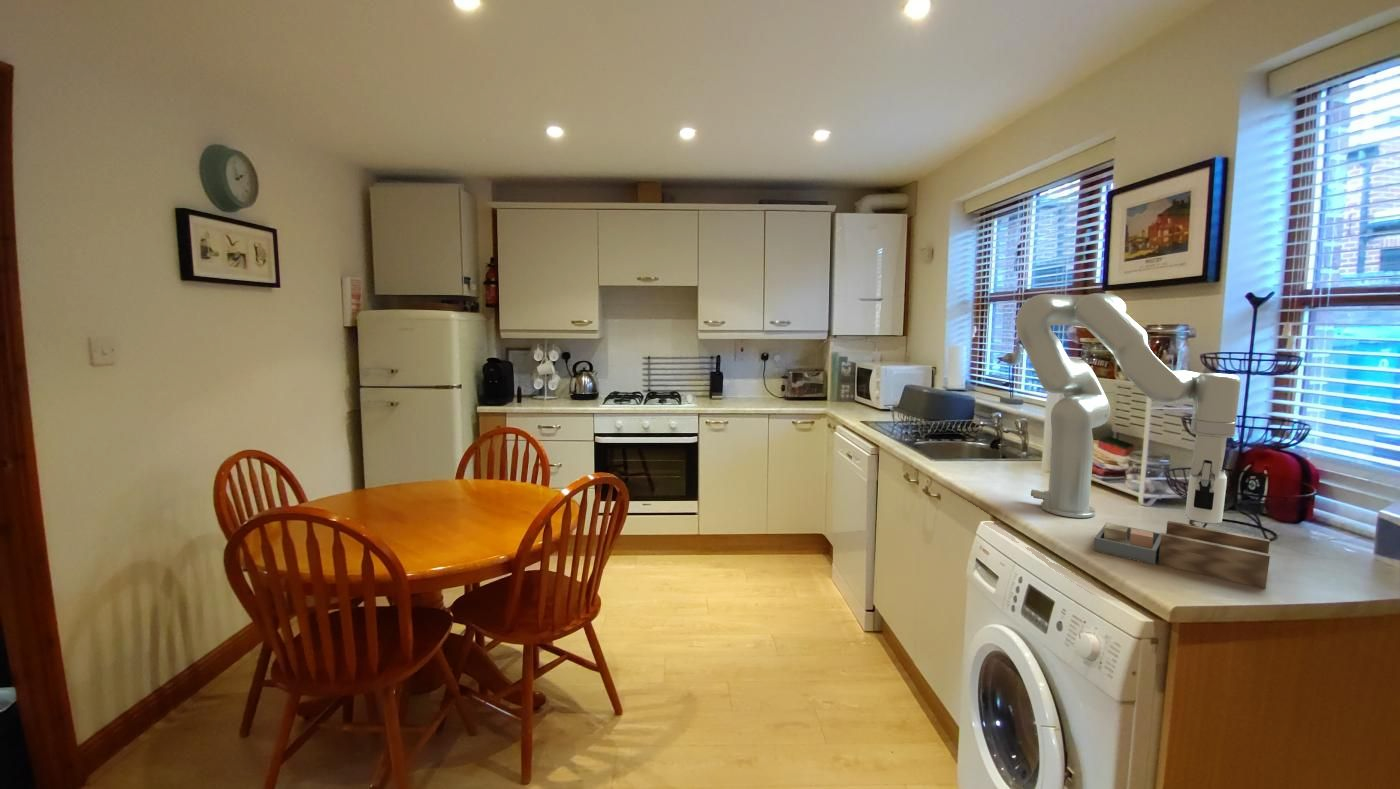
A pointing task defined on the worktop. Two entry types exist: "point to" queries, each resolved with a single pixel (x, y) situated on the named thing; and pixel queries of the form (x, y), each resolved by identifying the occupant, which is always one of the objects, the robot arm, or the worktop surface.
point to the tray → (1128, 547)
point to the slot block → (1215, 553)
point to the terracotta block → (1141, 538)
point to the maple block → (1116, 533)
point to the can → (1218, 501)
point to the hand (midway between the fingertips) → (1204, 504)
